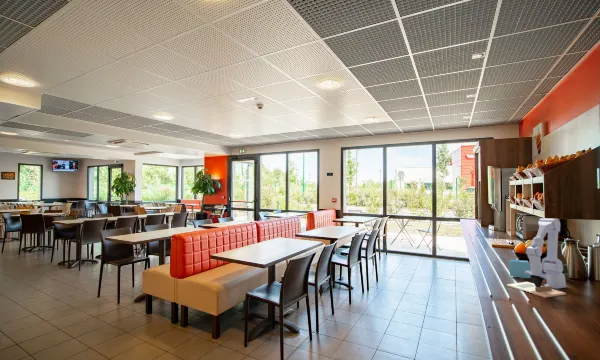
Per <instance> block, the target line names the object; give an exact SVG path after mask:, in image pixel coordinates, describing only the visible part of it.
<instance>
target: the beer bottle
mask: <svg viewBox="0 0 600 360" xmlns="http://www.w3.org/2000/svg"><path fill="white" fill-rule="evenodd" d="M557 258H558V259H559V260H560V261H561V262H562V266H563V271H562V273H563V274H564V276H565V281H566V282H570V274H569V268H568V261H567V259H566V258H565V257H564V255H563V250H562V245H561V244H558V247H557ZM553 263H556V262H553Z"/></svg>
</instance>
